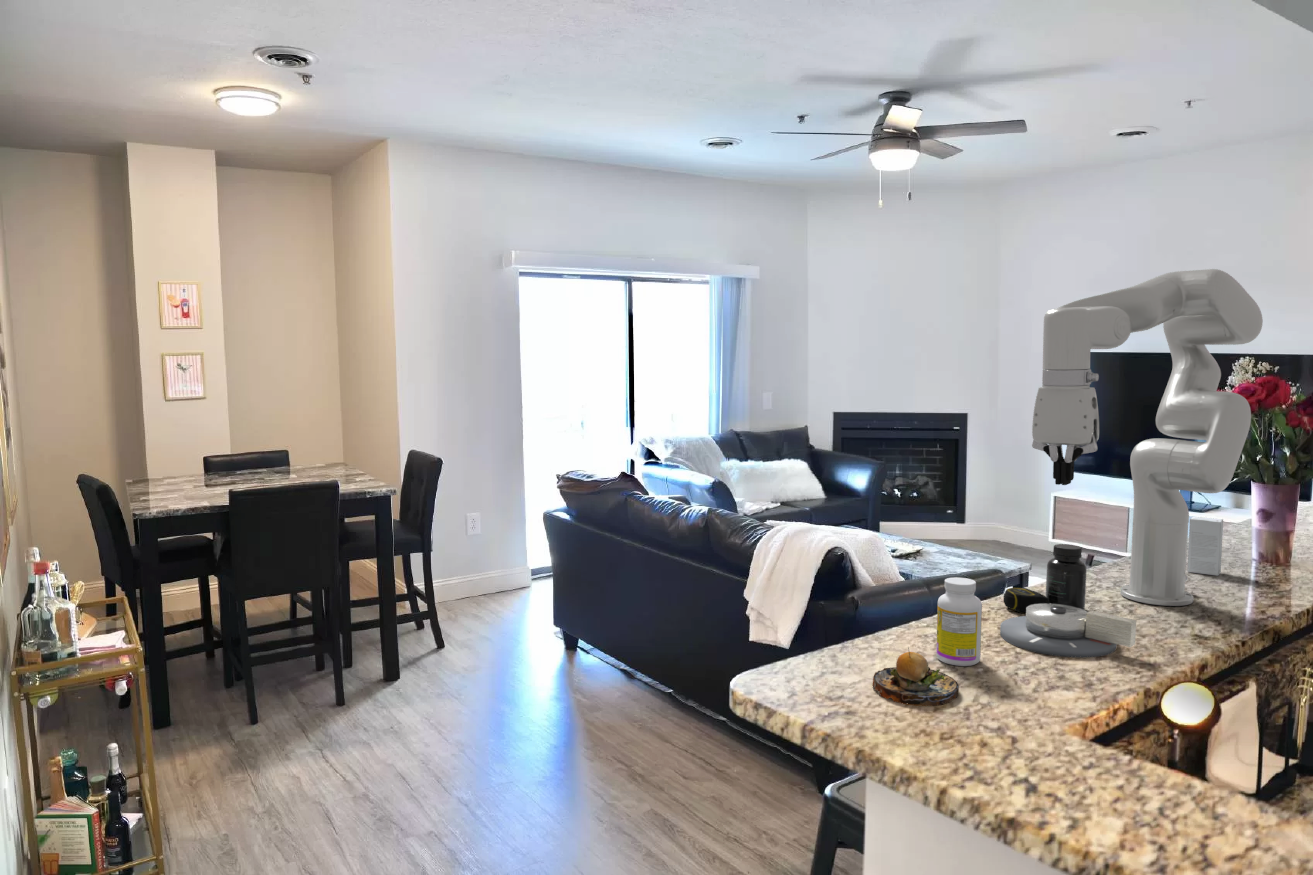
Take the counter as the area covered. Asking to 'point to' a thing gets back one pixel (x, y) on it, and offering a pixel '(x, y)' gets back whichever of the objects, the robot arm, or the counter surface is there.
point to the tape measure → (1023, 598)
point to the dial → (1079, 624)
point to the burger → (915, 682)
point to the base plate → (1052, 641)
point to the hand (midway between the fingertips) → (1063, 483)
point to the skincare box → (1205, 545)
